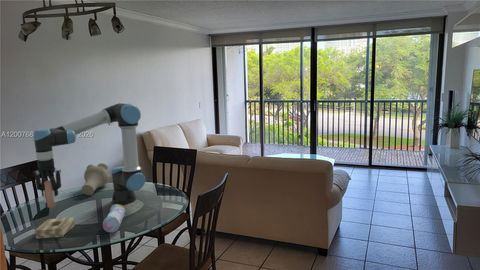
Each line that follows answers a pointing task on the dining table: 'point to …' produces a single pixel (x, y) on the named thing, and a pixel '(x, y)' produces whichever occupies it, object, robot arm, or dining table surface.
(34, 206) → the dining table surface
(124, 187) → the robot arm
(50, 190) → the peg
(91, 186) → the vase
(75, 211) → the dining table surface
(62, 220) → the socket block
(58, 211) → the dining table surface
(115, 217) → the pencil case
